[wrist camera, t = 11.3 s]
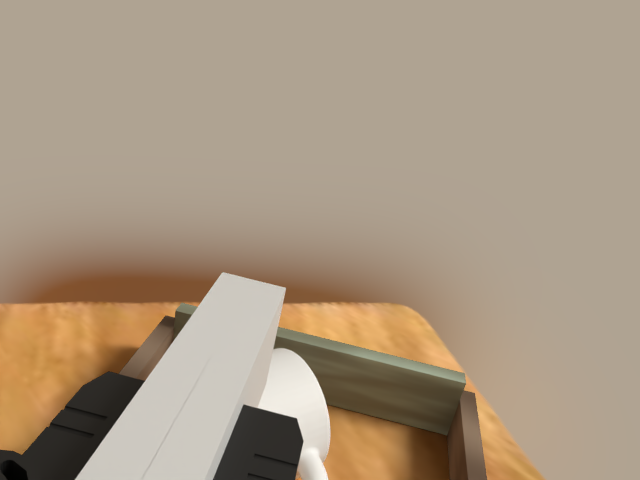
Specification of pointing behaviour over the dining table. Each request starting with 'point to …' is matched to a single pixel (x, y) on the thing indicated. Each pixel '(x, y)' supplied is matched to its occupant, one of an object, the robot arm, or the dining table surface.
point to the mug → (299, 408)
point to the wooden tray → (364, 387)
